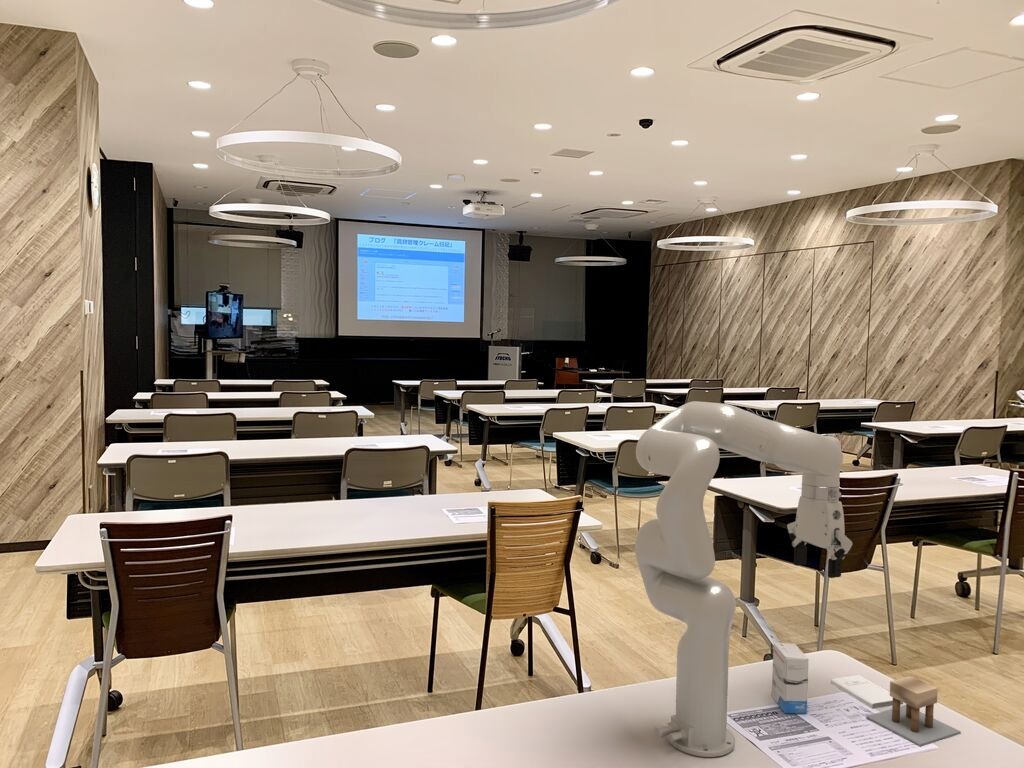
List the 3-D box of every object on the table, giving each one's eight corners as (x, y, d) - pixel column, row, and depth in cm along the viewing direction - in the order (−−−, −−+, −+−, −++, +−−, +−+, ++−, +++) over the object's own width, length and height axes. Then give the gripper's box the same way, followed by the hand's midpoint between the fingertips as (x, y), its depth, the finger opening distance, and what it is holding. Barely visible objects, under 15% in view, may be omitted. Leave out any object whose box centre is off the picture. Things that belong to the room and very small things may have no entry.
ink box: (808, 714, 155) (810, 658, 155) (783, 714, 155) (785, 658, 155) (793, 695, 164) (795, 642, 163) (770, 695, 164) (772, 641, 163)
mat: (920, 746, 143) (920, 744, 143) (866, 718, 154) (866, 716, 154) (960, 733, 148) (960, 731, 148) (905, 706, 159) (905, 704, 159)
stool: (935, 727, 150) (937, 688, 149) (915, 733, 147) (917, 693, 147) (908, 714, 155) (910, 676, 155) (888, 719, 153) (890, 681, 152)
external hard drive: (872, 711, 158) (830, 685, 170) (903, 706, 161) (860, 681, 173) (872, 703, 158) (830, 678, 170) (903, 698, 161) (860, 674, 173)
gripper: (865, 499, 157) (862, 580, 157) (803, 485, 173) (800, 558, 173) (838, 501, 154) (835, 584, 155) (777, 486, 170) (774, 561, 170)
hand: (816, 570), depth 164 cm, fingers open, 9 cm apart
